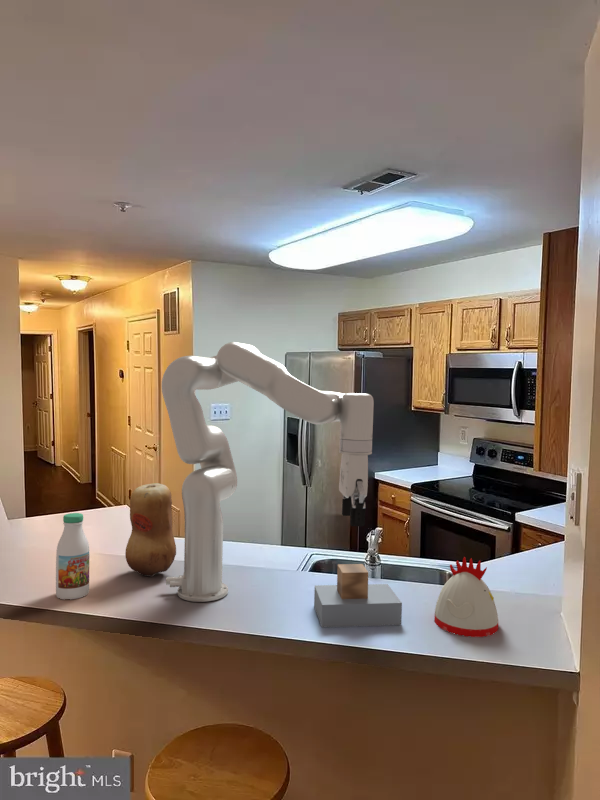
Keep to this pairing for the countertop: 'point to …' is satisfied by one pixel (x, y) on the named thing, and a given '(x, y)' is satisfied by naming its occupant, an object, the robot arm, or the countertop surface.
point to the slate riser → (357, 607)
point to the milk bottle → (72, 559)
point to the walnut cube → (352, 581)
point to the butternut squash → (151, 530)
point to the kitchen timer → (466, 603)
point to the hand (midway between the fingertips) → (352, 520)
